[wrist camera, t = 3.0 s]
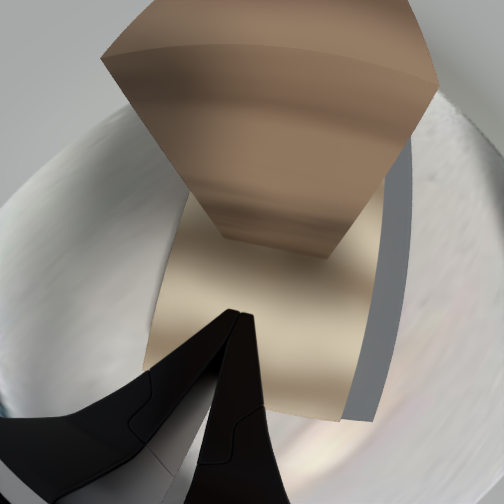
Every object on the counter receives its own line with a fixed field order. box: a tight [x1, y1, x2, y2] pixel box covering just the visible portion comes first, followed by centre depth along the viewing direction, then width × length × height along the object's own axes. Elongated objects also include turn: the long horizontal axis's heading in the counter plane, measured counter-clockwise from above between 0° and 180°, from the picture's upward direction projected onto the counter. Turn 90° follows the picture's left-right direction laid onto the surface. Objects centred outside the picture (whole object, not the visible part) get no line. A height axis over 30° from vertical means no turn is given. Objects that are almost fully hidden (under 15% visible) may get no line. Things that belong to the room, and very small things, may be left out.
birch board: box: [142, 178, 385, 422], centre depth 17 cm, size 16×12×2 cm
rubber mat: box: [341, 136, 412, 422], centre depth 19 cm, size 26×15×1 cm, turn 166°
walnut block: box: [100, 0, 439, 260], centre depth 10 cm, size 7×6×13 cm
